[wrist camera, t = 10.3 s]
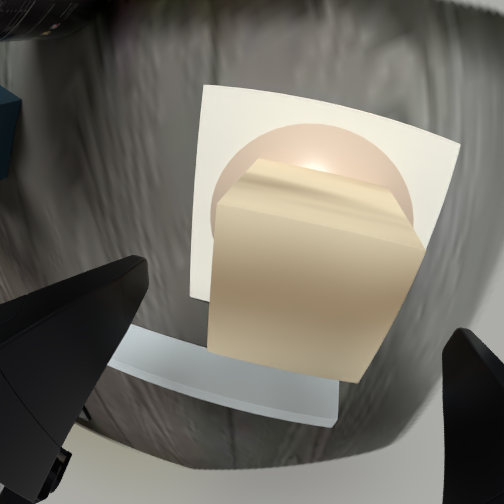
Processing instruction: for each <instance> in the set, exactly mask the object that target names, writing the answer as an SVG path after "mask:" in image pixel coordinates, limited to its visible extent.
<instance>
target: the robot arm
mask: <svg viewBox="0 0 504 504" xmlns="http://www.w3.org/2000/svg"><path fill="white" fill-rule="evenodd" d="M148 286H149V276H148V262H147V260H146V259H145V258H144V257H140V256H136V255H131V256H128V257H125V258H123V259H120V260H117V261H114V262H111V263H109V264H106V265H103V266H100V267H98V268H95V269H92V270H89V271H87V272H84V273H81V274H78V275H76V276H73V277H70V278H68V279H65V280H62V281H60V282H57V283H54V284H52V285H49V286H47V287H44V288H41V289H39V290H36V291H34V292H31V293H29V294H28V295H23V296H21V297H18V298H16V299H13V300H11V301H8V302H5V303H3V304H0V504H36V503H38V502H40V501H42V500H44V499H46V498H47V497H48V495H49V493H52V492H54V491H55V489H56V488H57V487H58V485H59V483H60V481H61V479H62V477H63V474H64V472H65V470H66V467H67V465H68V463H69V460H70V458H71V456H72V454H71V453H70V452H69V451H66V450H65V449H63V448H62V445H63V443H64V441H65V439H66V437H67V435H68V433H69V432H70V430H71V428H72V426H73V425H74V423H75V421H76V420H77V418H78V417H81V418H83V419H85V420H86V421H89V420H90V417H89V416H88V414H87V412H86V410H85V409H84V407H83V406H84V404H85V402H86V401H87V399H88V397H89V395H90V393H91V392H92V390H93V388H94V386H95V385H96V383H97V381H98V380H99V378H100V376H101V374H102V373H103V371H104V369H105V368H106V366H107V364H108V363H109V361H110V359H111V358H112V356H113V354H114V353H115V351H116V349H117V348H118V346H119V344H120V343H121V341H122V339H123V338H124V336H125V334H126V333H127V331H128V329H129V327H130V325H131V323H132V321H133V319H134V316H135V314H136V312H137V310H138V308H139V306H140V304H141V302H142V300H143V298H144V296H145V294H146V292H147V290H148ZM442 373H443V391H442V392H443V416H444V445H445V446H444V447H445V460H444V465H445V466H444V488H443V503H442V504H504V364H503V362H501V360H500V359H499V358H498V357H497V356H496V355H495V354H494V353H493V352H492V351H491V350H490V349H489V348H488V347H487V346H486V345H485V344H484V343H483V342H482V341H481V340H480V339H479V338H478V337H477V336H476V335H475V334H474V333H473V332H472V331H471V330H469V329H465V328H457V329H456V330H455V331H454V333H453V334H452V336H451V337H450V339H449V341H448V342H447V344H446V345H445V347H444V349H443V352H442Z"/></svg>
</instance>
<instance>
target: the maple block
mask: <svg viewBox="0 0 504 504" xmlns="http://www.w3.org/2000/svg"><path fill="white" fill-rule="evenodd" d="M425 252H426V250H425V248H424V246H423V244H422V243H421V241H420V239H419V237H418V236H417V234H416V232H415V230H414V229H413V227H412V225H411V224H410V222H409V220H408V219H407V217H406V215H405V214H404V212H403V211H402V209H401V207H400V206H399V204H398V203H397V201H396V199H395V198H394V196H393V195H392V193H391V192H390V190H389V189H388V187H384V186H380V185H376V184H373V183H369V182H365V181H361V180H357V179H353V178H349V177H345V176H341V175H337V174H332V173H328V172H324V171H319V170H314V169H310V168H305V167H300V166H295V165H291V164H285V163H280V162H275V161H270V160H264V159H259V158H258V159H257V160H256V161H255V162H254V164H253V165H252V166H251V167H250V168H249V169H248V170H247V171H246V172H245V173H244V174H243V175H242V176H241V178H240V179H239V180H238V181H237V182H236V183H235V184H234V185H233V186H232V187H231V188H230V190H229V191H228V192H227V193H226V194H225V195H224V196H223V197H222V198H221V200H220V201H219V202H218V203H217V207H216V219H215V231H214V244H213V257H212V271H211V286H210V303H209V321H208V341H207V351H208V352H212V353H215V354H219V355H223V356H227V357H230V358H234V359H238V360H242V361H246V362H250V363H255V364H259V365H263V366H267V367H272V368H276V369H281V370H286V371H291V372H295V373H301V374H306V375H311V376H316V377H322V378H328V379H333V380H339V381H346V382H352V383H358V382H359V381H360V379H361V378H362V376H363V374H364V373H365V371H366V369H367V368H368V366H369V364H370V363H371V361H372V359H373V358H374V356H375V354H376V352H377V351H378V349H379V347H380V345H381V344H382V342H383V340H384V338H385V336H386V335H387V333H388V331H389V329H390V327H391V325H392V323H393V321H394V319H395V317H396V315H397V314H398V312H399V310H400V308H401V306H402V303H403V301H404V299H405V297H406V295H407V293H408V291H409V289H410V287H411V285H412V282H413V280H414V278H415V276H416V273H417V271H418V269H419V267H420V264H421V262H422V260H423V257H424V255H425Z"/></svg>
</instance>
